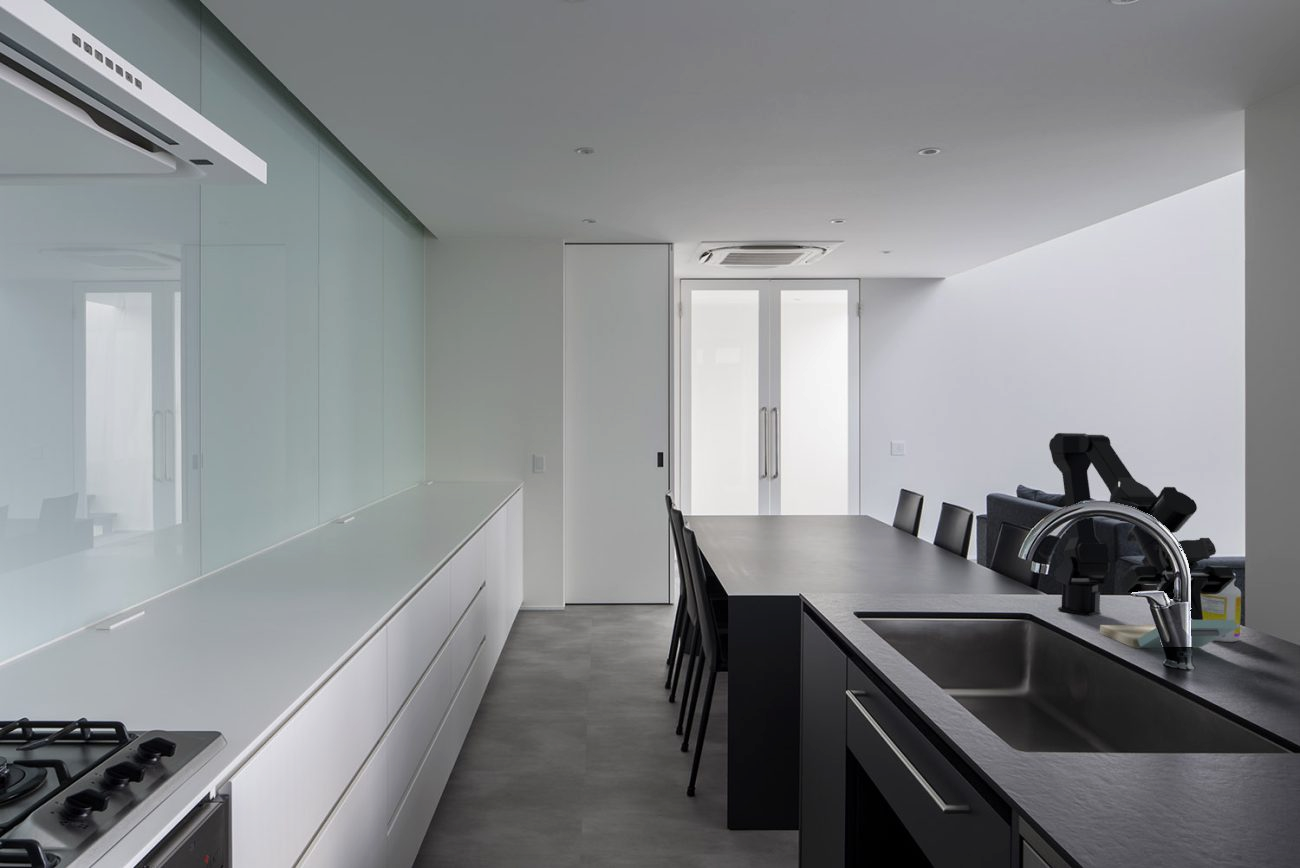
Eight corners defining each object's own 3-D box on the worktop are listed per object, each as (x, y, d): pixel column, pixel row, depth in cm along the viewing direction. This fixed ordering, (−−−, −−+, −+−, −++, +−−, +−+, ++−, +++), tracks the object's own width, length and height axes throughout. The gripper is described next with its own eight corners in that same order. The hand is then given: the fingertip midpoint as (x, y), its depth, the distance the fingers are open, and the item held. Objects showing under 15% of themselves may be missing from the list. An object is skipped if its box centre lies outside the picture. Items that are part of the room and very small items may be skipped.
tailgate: (1137, 638, 154) (1169, 619, 146) (1198, 638, 155) (1234, 619, 147) (1141, 651, 153) (1174, 633, 144) (1203, 651, 154) (1239, 632, 145)
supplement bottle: (1226, 634, 166) (1229, 570, 165) (1247, 643, 159) (1250, 576, 159) (1191, 632, 166) (1193, 568, 166) (1209, 642, 160) (1212, 575, 159)
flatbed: (1099, 633, 164) (1099, 625, 164) (1162, 633, 165) (1162, 625, 165) (1133, 647, 154) (1133, 639, 154) (1199, 647, 156) (1199, 639, 155)
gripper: (1132, 521, 151) (1173, 595, 140) (1230, 522, 152) (1277, 596, 142) (1104, 556, 159) (1140, 629, 148) (1196, 557, 161) (1239, 629, 150)
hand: (1199, 620), depth 147 cm, fingers closed
